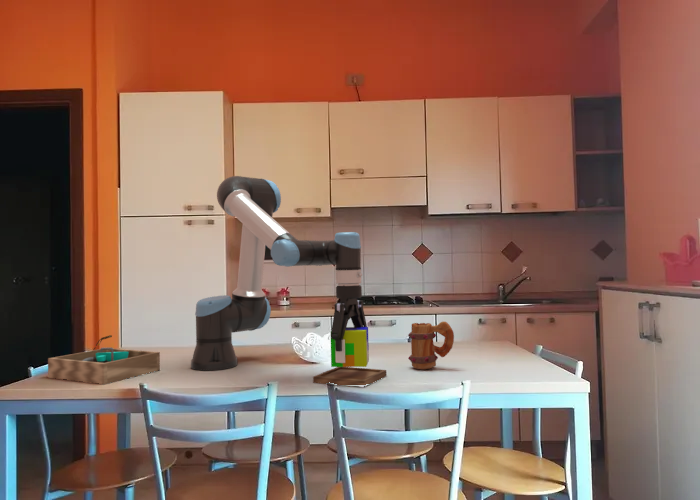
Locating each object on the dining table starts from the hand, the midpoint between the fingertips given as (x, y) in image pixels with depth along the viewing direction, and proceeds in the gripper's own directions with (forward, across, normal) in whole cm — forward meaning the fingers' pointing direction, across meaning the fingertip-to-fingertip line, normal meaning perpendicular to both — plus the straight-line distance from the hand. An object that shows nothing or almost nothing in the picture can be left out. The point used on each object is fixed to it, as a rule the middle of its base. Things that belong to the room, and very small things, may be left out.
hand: (350, 358), depth 157 cm
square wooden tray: (+6, 0, 0) cm, 6 cm away
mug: (+6, +23, -17) cm, 29 cm away
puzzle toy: (+2, 0, 0) cm, 2 cm away
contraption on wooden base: (+6, -23, +77) cm, 80 cm away
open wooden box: (+6, -22, +77) cm, 80 cm away
